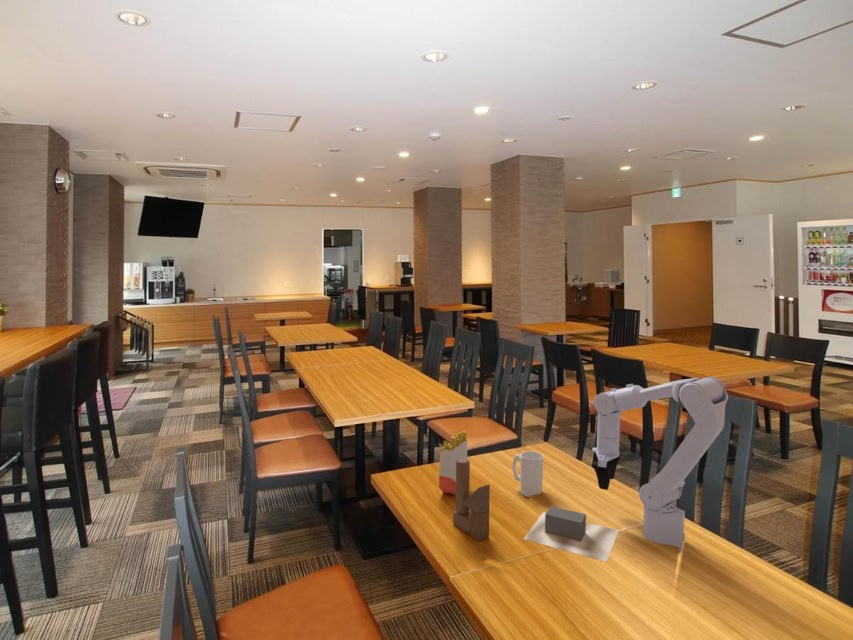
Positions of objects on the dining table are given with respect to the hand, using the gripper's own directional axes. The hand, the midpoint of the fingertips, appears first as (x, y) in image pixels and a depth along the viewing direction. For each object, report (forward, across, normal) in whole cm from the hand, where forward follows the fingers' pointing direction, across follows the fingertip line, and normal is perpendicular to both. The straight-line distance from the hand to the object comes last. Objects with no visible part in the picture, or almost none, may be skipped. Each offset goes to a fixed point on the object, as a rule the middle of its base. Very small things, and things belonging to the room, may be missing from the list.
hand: (606, 483), depth 142 cm
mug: (+10, -4, -24) cm, 26 cm away
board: (+9, +16, -5) cm, 19 cm away
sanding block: (+8, +16, -7) cm, 19 cm away
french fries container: (+10, +6, -44) cm, 45 cm away
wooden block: (+10, +25, -29) cm, 39 cm away
